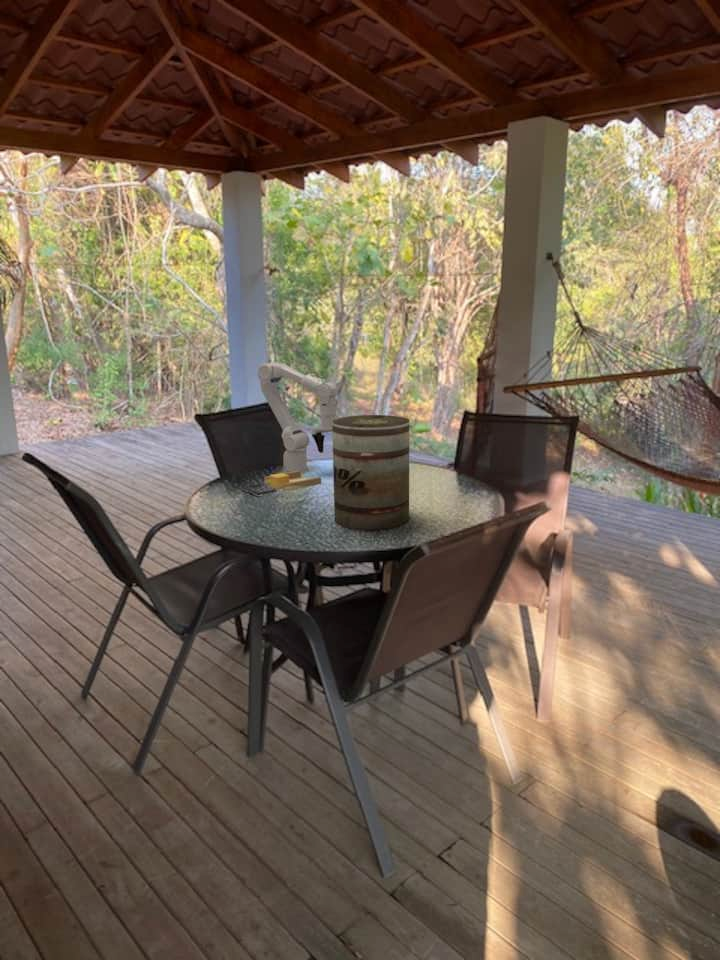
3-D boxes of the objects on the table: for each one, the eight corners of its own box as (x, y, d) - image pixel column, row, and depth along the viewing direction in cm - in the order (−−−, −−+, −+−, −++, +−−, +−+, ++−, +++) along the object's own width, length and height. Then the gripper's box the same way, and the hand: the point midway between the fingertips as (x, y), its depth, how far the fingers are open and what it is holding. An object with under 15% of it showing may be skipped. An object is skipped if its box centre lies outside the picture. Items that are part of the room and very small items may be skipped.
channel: (264, 485, 242) (264, 477, 241) (299, 478, 251) (298, 470, 250) (285, 493, 231) (285, 484, 230) (321, 485, 240) (320, 477, 239)
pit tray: (242, 490, 235) (242, 487, 235) (259, 487, 239) (259, 483, 239) (258, 497, 227) (258, 493, 226) (275, 493, 231) (275, 489, 230)
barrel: (332, 510, 211) (330, 416, 203) (402, 507, 213) (402, 414, 205) (337, 533, 189) (334, 428, 181) (415, 529, 191) (415, 426, 184)
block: (270, 485, 238) (269, 475, 237) (282, 483, 241) (281, 472, 240) (277, 488, 234) (276, 477, 233) (289, 486, 237) (288, 475, 236)
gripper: (318, 418, 240) (319, 455, 244) (350, 414, 249) (350, 449, 252) (307, 416, 246) (308, 452, 249) (338, 412, 254) (339, 447, 258)
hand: (329, 450), depth 251 cm, fingers open, 7 cm apart
